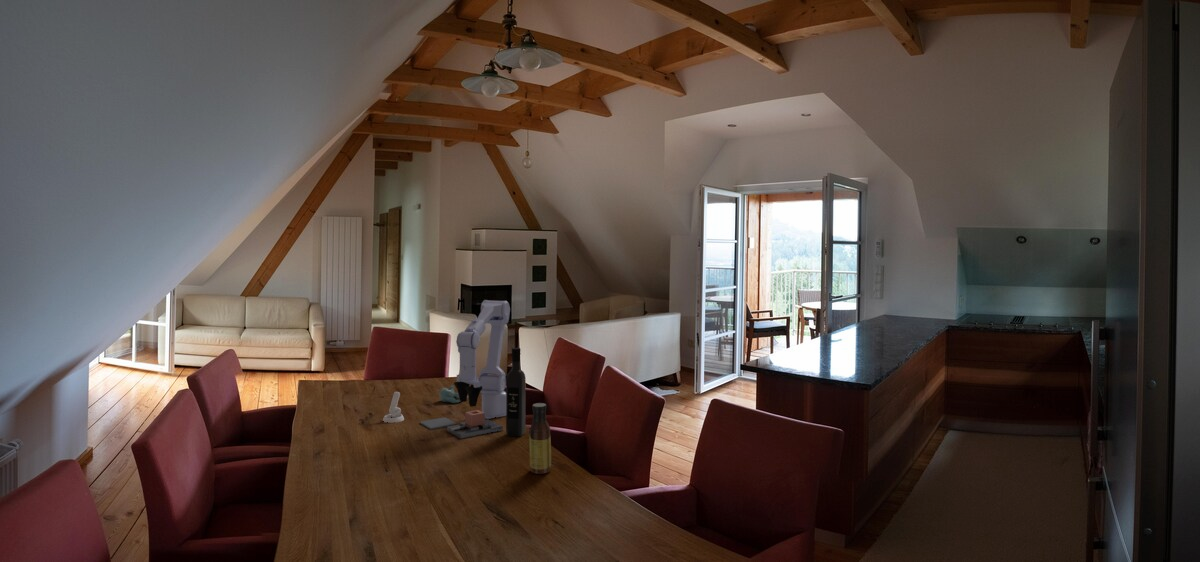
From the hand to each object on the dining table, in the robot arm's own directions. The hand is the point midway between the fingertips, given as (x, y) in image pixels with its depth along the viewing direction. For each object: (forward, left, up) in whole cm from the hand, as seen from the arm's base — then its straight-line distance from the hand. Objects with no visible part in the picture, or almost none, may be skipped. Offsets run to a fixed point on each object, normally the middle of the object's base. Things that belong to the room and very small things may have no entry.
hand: (468, 403), depth 226 cm
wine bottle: (-11, +14, -10) cm, 20 cm away
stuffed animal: (-14, -41, -10) cm, 45 cm away
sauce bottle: (+1, +49, -10) cm, 50 cm away
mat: (+5, -13, -10) cm, 17 cm away
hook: (+16, -28, -10) cm, 34 cm away
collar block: (-2, +2, -7) cm, 7 cm away
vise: (-2, +2, -10) cm, 10 cm away
